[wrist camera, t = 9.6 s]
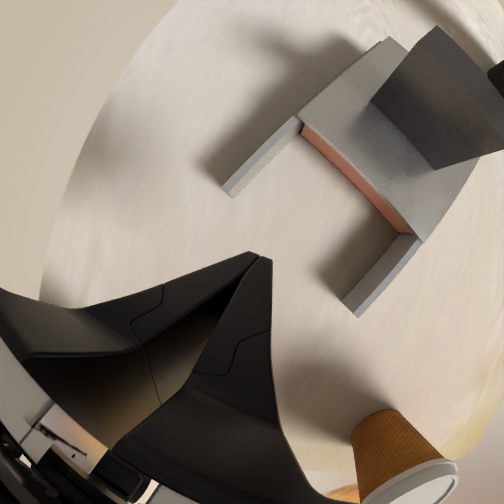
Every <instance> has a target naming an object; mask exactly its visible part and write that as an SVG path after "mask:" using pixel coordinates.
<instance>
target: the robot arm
mask: <svg viewBox="0 0 504 504" xmlns="http://www.w3.org/2000/svg"><path fill="white" fill-rule="evenodd" d="M272 280H273V261H272V259H269V258H266V257H264V256H260V255H258V254H256V253H253V252H250V251H247V252H245V253H242V254H239V255H237V256H234V257H231V258H229V259H226V260H223V261H221V262H218V263H216V264H213V265H210V266H208V267H205V268H202V269H200V270H197V271H194V272H192V273H189V274H187V275H184V276H181V277H179V278H176V279H173V280H171V281H168V282H166V283H164V285H163V284H160V285H157V286H155V287H152V288H149V289H147V290H144V291H141V292H138V293H135V294H131V295H128V296H125V297H121V298H118V299H114V300H110V301H107V302H103V303H99V304H96V305H92V306H88V307H84V308H77V309H69V308H62V307H58V306H54V305H51V304H47V303H44V302H40V301H36V300H33V299H30V298H27V297H23V296H20V295H17V294H14V293H11V292H8V291H6V290H4V289H2V288H0V504H129V503H131V504H134V503H135V502H137V500H139V498H140V497H141V496H142V495H143V494H144V492H145V490H146V489H147V488H148V486H149V484H150V481H151V479H153V480H155V481H157V482H158V483H159V485H158V486H157V488H156V489H155V491H154V492H153V493H152V495H151V496H150V498H149V499H148V501H147V502H146V504H358V503H352V502H346V501H339V500H334V499H331V498H327V497H325V496H323V495H322V494H320V493H318V492H317V491H316V490H315V489H314V488H313V487H312V486H311V485H310V483H309V482H308V480H307V478H306V476H305V474H304V473H303V471H302V469H301V467H300V465H299V463H298V461H297V459H296V457H295V455H294V453H293V451H292V449H291V447H290V445H289V443H288V441H287V439H286V437H285V435H284V433H283V430H282V426H281V422H280V418H279V412H278V406H277V398H276V391H275V384H274V377H273V369H272V358H271V326H272ZM22 454H23V455H24V456H25V457H26V458H27V459H28V460H29V462H30V463H31V468H30V467H28V466H27V465H26V464H25V463H23V462H22V461H21V460H19V459H20V456H21V455H22ZM127 502H129V503H127Z"/></svg>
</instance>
